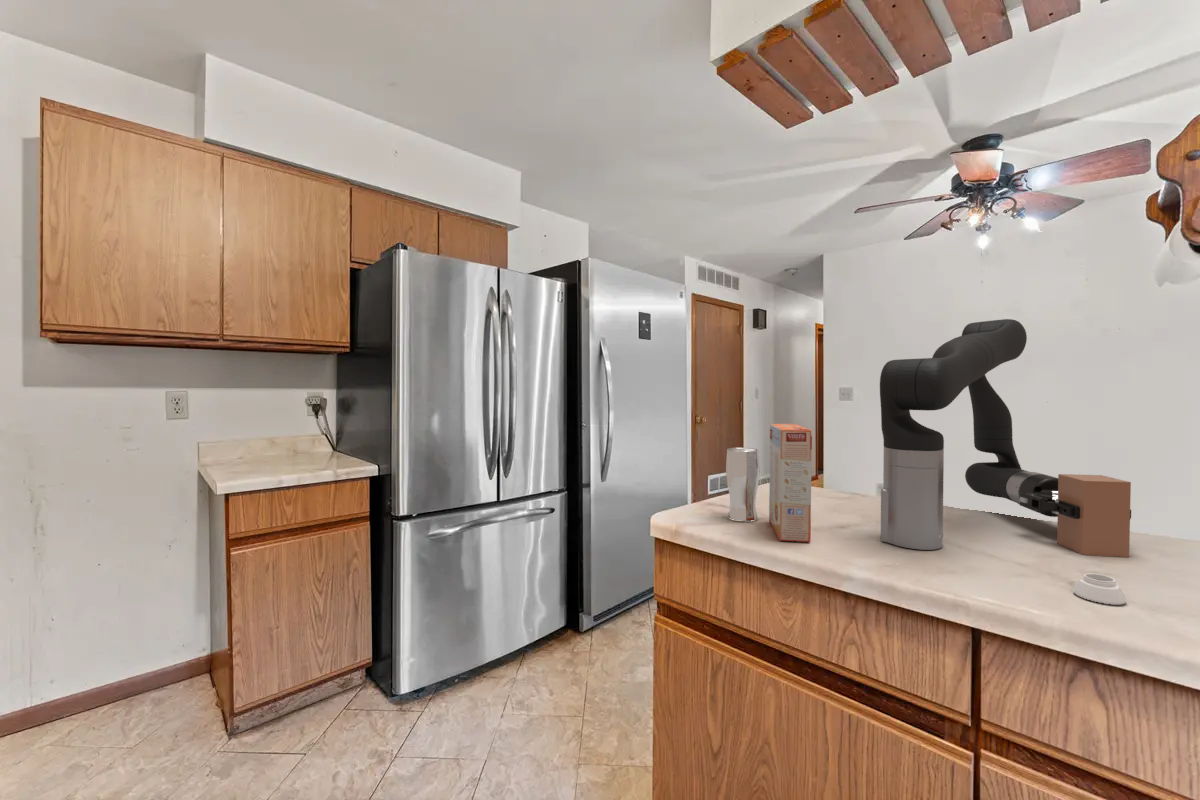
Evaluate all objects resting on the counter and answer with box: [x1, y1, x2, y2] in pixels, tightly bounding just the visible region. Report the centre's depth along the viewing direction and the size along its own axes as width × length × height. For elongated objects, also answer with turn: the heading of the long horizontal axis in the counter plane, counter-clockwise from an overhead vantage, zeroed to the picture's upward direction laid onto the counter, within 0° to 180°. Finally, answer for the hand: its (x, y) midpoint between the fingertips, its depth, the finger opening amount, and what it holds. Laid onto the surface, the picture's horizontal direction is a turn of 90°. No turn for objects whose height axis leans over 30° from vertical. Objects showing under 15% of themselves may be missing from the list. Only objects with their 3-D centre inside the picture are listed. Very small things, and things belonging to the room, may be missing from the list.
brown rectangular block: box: [1056, 473, 1132, 558], centre depth 86 cm, size 6×6×12 cm
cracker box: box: [768, 423, 813, 543], centre depth 98 cm, size 14×6×21 cm, turn 168°
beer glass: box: [725, 447, 761, 521], centre depth 108 cm, size 7×7×15 cm
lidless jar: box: [1073, 572, 1128, 606], centre depth 67 cm, size 5×3×5 cm
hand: (1102, 513), depth 84 cm, fingers closed on brown rectangular block, 6 cm apart
